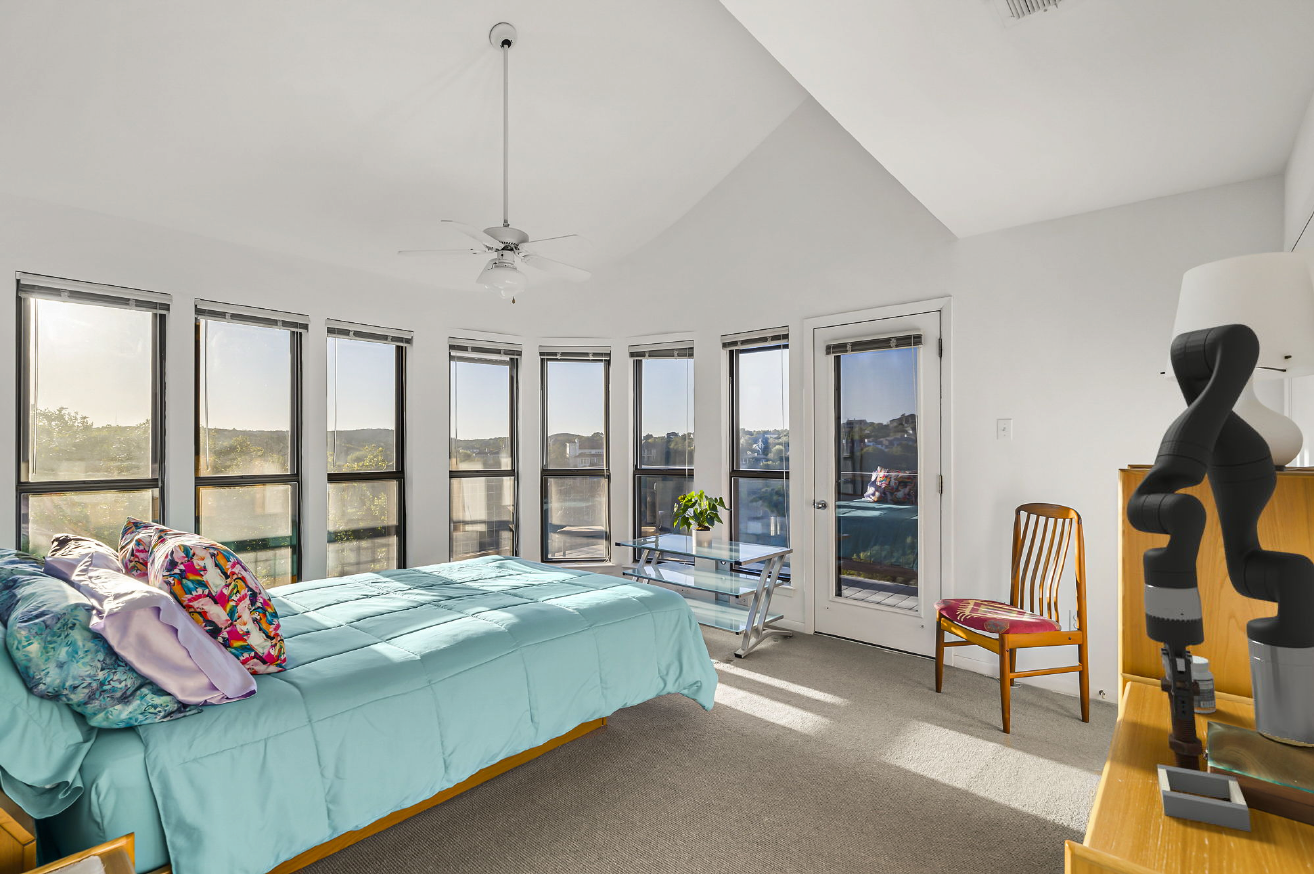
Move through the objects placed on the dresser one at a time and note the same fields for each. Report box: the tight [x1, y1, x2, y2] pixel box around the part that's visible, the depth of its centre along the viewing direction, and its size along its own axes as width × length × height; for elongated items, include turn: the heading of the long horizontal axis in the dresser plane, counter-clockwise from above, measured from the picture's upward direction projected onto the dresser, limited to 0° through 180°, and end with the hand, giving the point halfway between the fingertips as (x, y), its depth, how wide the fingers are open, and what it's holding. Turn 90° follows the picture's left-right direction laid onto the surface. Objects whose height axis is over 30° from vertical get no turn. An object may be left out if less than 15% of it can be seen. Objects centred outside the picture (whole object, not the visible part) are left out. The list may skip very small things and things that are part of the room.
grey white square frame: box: [1156, 763, 1252, 833], centre depth 98 cm, size 10×10×3 cm
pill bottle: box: [1192, 655, 1217, 714], centre depth 129 cm, size 6×6×10 cm
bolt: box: [1159, 675, 1204, 771], centre depth 107 cm, size 6×5×15 cm
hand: (1180, 708), depth 107 cm, fingers open, 8 cm apart
